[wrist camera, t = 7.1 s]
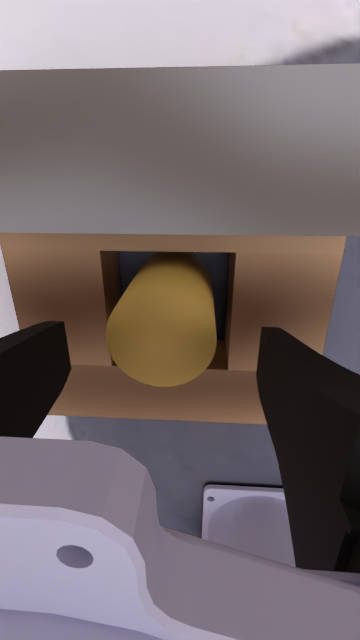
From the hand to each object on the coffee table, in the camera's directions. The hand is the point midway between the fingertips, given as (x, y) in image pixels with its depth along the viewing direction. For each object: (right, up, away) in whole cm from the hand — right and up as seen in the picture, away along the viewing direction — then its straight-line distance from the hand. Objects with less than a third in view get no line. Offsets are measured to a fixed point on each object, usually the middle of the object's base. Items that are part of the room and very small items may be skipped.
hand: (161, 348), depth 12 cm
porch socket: (0, +3, +5) cm, 6 cm away
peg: (0, +3, +5) cm, 6 cm away
